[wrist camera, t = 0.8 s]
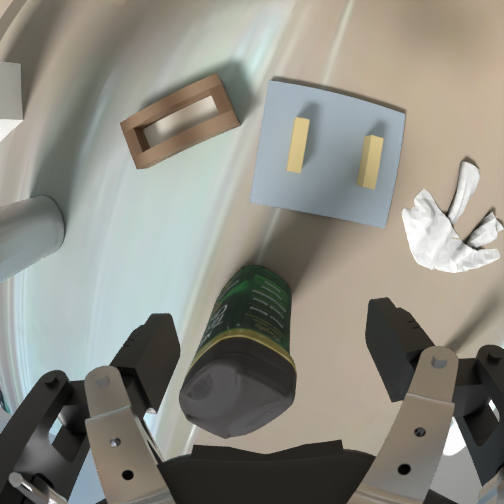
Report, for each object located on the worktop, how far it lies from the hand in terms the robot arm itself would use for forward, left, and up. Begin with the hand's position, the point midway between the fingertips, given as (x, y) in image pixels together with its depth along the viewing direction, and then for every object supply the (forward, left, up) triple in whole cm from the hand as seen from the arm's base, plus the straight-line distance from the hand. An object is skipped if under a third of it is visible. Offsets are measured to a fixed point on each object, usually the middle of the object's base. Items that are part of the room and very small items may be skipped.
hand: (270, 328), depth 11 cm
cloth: (+27, +5, -23) cm, 36 cm away
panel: (+5, +8, -22) cm, 24 cm away
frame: (-12, +9, -22) cm, 27 cm away
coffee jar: (-1, -11, -22) cm, 25 cm away
